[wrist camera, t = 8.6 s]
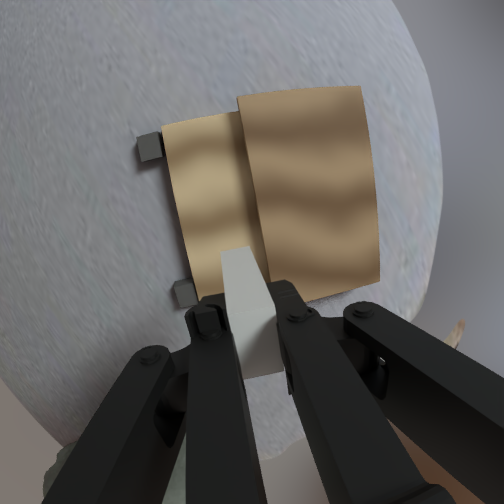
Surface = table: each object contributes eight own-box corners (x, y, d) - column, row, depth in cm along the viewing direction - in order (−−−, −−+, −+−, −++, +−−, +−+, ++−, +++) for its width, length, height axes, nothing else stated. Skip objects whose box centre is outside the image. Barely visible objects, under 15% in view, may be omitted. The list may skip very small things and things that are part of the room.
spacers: (139, 137, 27) (136, 137, 25) (159, 132, 27) (157, 131, 25) (181, 301, 32) (180, 307, 31) (199, 297, 33) (198, 304, 31)
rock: (83, 443, 38) (61, 539, 19) (59, 420, 36) (26, 519, 17) (224, 409, 38) (242, 539, 20) (203, 380, 36) (212, 524, 17)
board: (233, 103, 27) (237, 96, 23) (344, 91, 28) (360, 85, 24) (268, 293, 34) (275, 309, 30) (364, 269, 34) (379, 281, 31)
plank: (175, 128, 30) (153, 128, 25) (263, 110, 28) (256, 104, 23) (207, 286, 36) (194, 308, 31) (288, 279, 34) (286, 302, 29)
